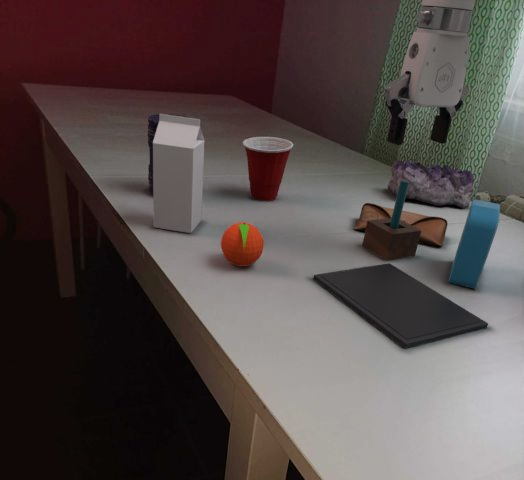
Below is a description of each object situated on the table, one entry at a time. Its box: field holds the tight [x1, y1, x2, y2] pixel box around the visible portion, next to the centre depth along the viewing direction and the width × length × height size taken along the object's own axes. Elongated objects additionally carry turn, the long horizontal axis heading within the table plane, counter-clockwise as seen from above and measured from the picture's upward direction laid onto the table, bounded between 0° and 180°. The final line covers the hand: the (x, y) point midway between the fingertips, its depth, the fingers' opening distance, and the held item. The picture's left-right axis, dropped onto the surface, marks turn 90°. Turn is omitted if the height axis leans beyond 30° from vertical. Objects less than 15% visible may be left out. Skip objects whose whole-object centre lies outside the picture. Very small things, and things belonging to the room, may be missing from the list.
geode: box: [386, 160, 475, 210], centre depth 130 cm, size 20×12×10 cm, turn 79°
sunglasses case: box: [354, 202, 448, 247], centre depth 109 cm, size 18×7×7 cm
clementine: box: [220, 221, 265, 267], centre depth 86 cm, size 8×7×7 cm
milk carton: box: [152, 113, 205, 234], centre depth 96 cm, size 7×7×19 cm
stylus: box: [390, 180, 409, 229], centre depth 97 cm, size 2×2×13 cm
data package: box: [448, 199, 501, 290], centre depth 91 cm, size 12×4×12 cm, turn 158°
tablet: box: [313, 262, 489, 349], centre depth 82 cm, size 16×22×1 cm
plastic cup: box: [242, 136, 294, 202], centre depth 118 cm, size 11×11×12 cm
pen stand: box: [361, 218, 421, 261], centre depth 99 cm, size 7×7×5 cm
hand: (416, 142), depth 90 cm, fingers open, 9 cm apart
